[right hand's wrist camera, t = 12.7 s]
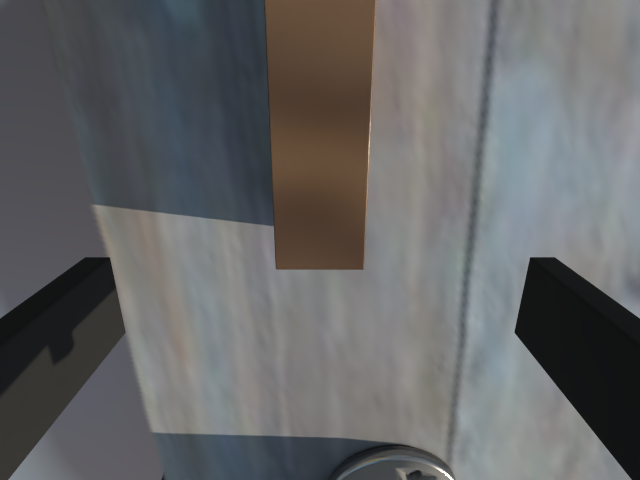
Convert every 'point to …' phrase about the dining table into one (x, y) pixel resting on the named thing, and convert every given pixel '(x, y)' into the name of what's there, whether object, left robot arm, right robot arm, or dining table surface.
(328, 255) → the bar
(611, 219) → the dining table surface
